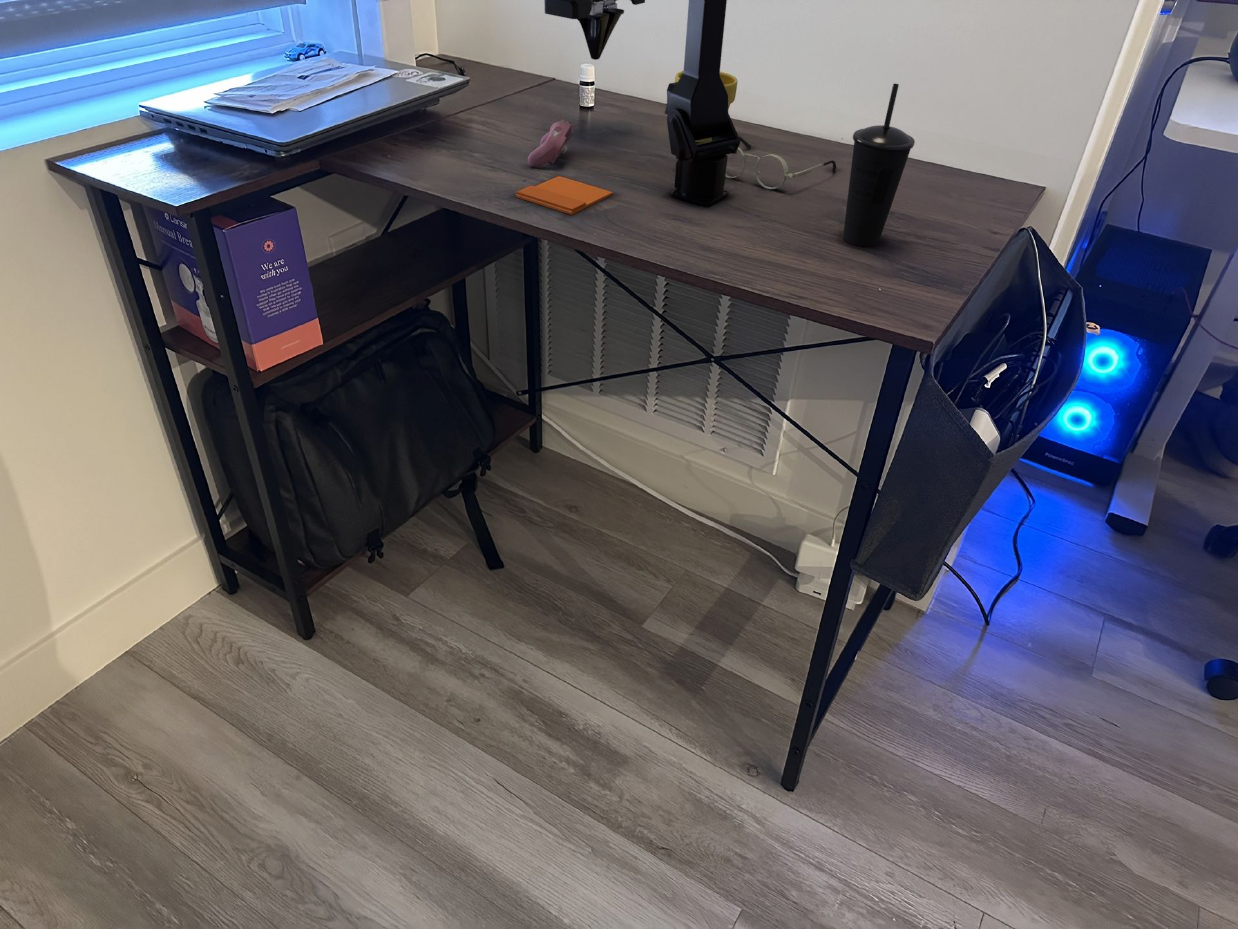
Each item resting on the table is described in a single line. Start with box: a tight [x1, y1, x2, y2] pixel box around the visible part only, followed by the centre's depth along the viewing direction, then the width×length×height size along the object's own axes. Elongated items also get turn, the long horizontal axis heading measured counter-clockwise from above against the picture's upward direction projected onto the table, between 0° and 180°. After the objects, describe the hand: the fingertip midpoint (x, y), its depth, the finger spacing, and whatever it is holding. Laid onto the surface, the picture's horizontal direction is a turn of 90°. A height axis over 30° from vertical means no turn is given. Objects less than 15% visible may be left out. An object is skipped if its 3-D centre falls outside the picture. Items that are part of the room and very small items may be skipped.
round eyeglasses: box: [725, 136, 837, 190], centre depth 137 cm, size 17×15×5 cm
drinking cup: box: [842, 83, 916, 248], centre depth 113 cm, size 8×8×20 cm
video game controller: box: [527, 118, 575, 168], centre depth 137 cm, size 10×5×7 cm, turn 171°
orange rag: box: [515, 175, 614, 216], centre depth 127 cm, size 10×10×1 cm
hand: (595, 59), depth 138 cm, fingers closed
